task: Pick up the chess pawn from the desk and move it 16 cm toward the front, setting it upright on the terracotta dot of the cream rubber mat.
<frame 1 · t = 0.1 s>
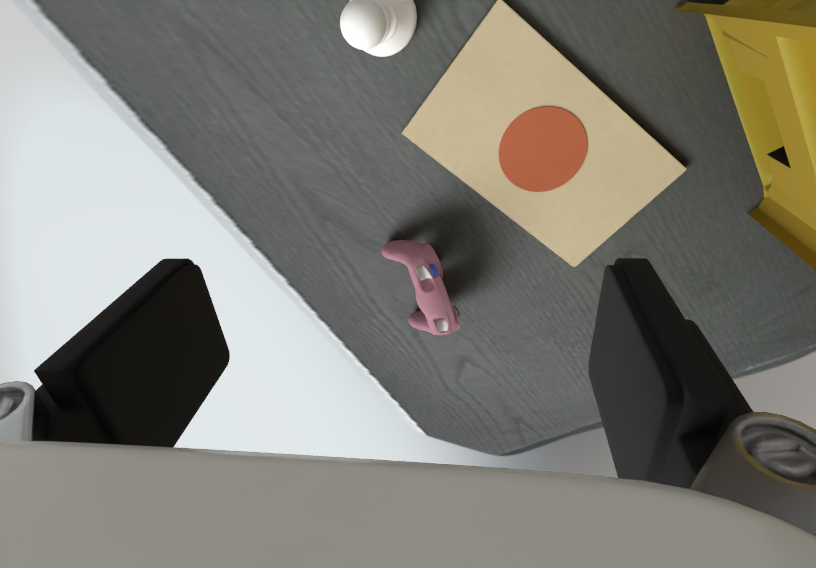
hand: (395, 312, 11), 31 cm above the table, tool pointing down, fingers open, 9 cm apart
video game controller: (425, 274, 47), on the table
chess pawn: (384, 17, 36), on the table
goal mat: (541, 149, 39), on the table
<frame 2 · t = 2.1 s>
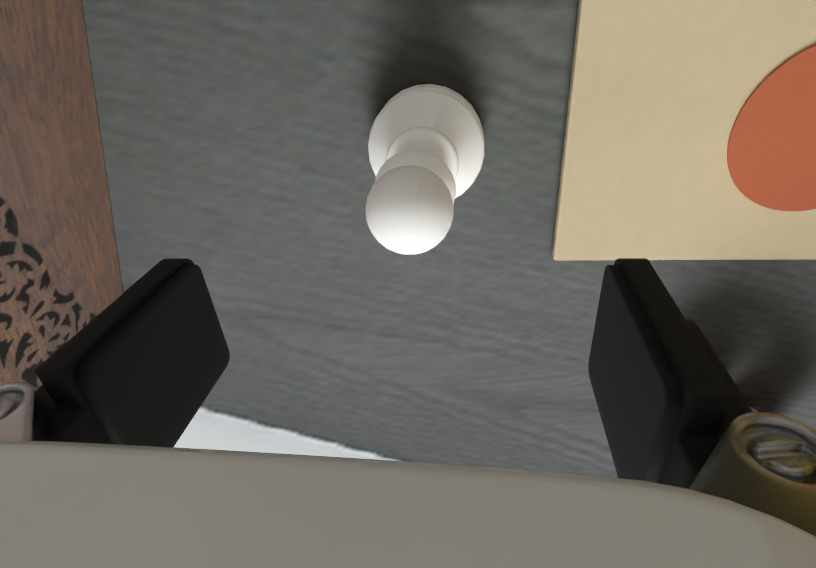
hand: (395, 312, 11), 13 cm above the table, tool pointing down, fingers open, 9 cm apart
chess pawn: (428, 140, 22), on the table
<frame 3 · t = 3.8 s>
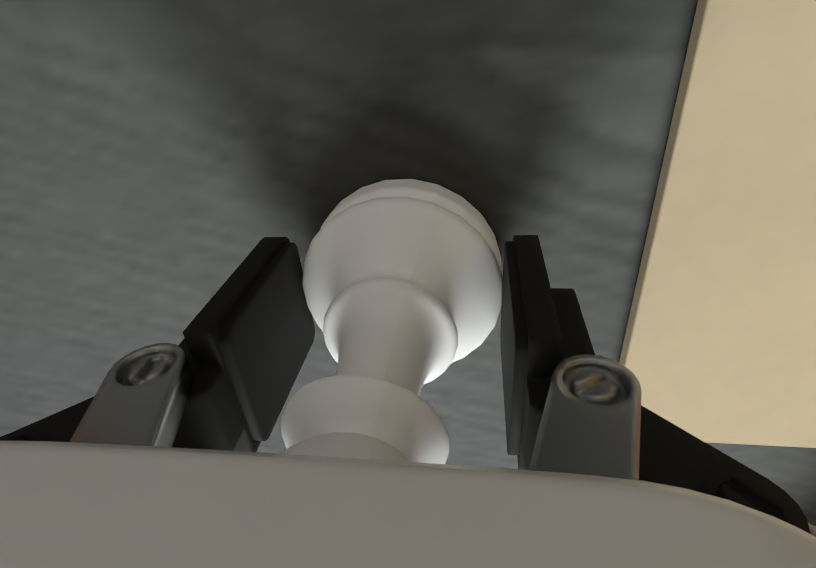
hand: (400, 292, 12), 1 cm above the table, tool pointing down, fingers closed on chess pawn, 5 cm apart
chess pawn: (409, 260, 13), on the table, touching gripper
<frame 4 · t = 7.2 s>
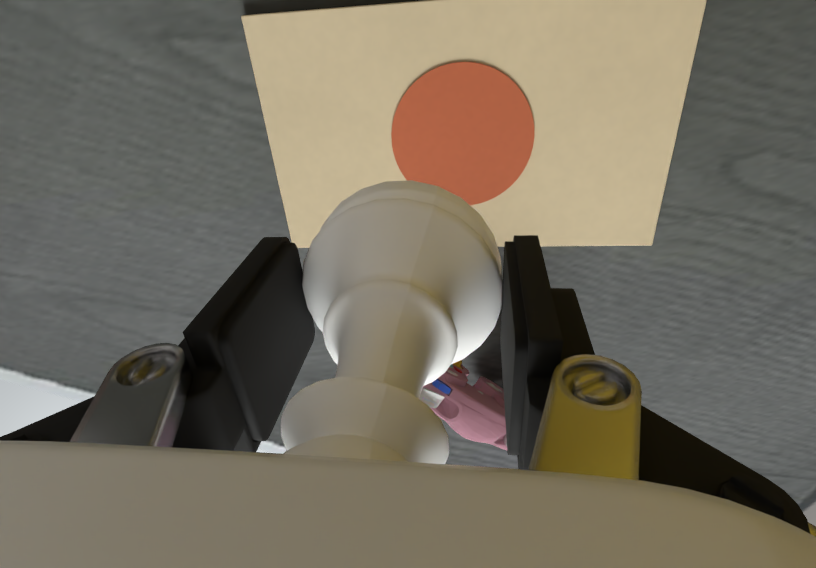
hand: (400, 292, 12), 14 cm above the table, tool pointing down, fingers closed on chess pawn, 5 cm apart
video game controller: (464, 372, 32), on the table
chess pawn: (408, 261, 13), point 13 cm above the table, touching gripper
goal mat: (461, 136, 24), on the table
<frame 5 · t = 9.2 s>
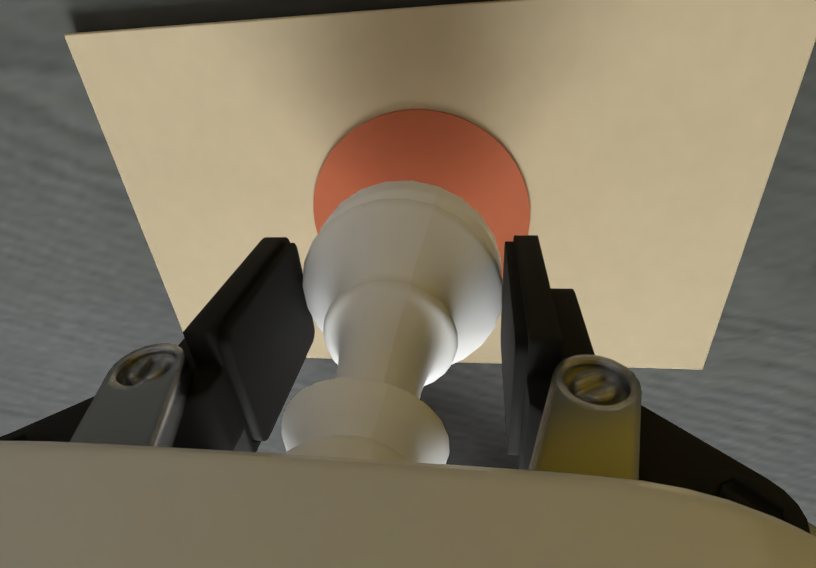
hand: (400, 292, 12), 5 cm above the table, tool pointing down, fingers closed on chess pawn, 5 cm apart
chess pawn: (409, 261, 13), point 3 cm above the table, touching gripper
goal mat: (420, 215, 16), on the table
when the fingers open (2 cm above the table, at t = 10.4 s): chess pawn stays where it is, resting on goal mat.
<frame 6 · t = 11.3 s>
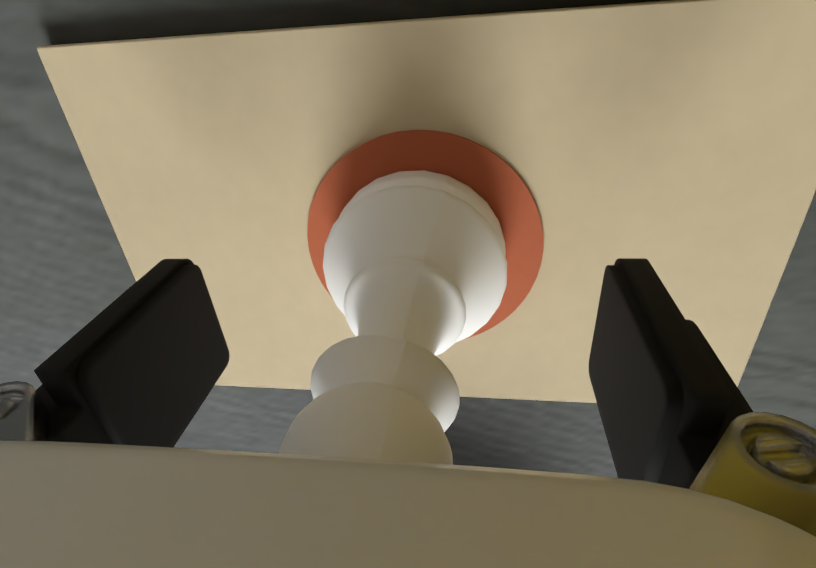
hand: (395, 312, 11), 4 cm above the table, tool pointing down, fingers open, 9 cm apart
chess pawn: (419, 247, 14), resting on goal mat
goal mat: (423, 241, 15), on the table
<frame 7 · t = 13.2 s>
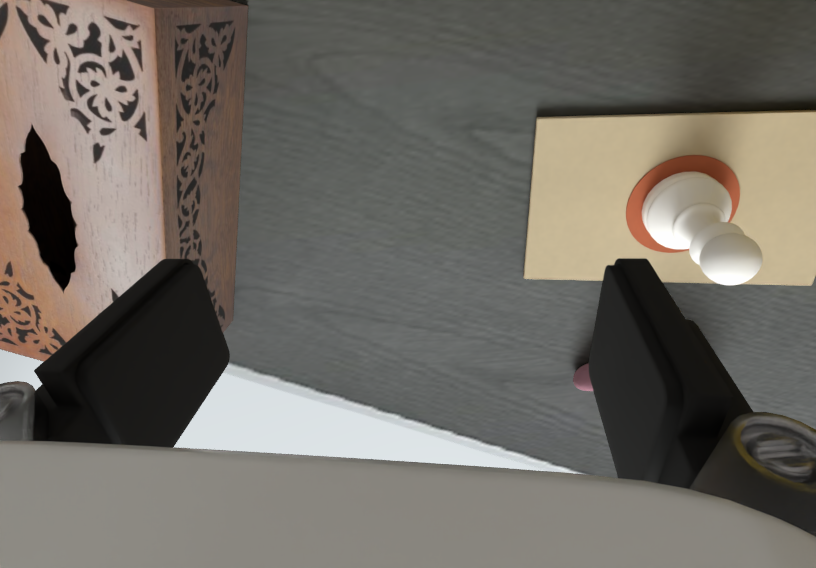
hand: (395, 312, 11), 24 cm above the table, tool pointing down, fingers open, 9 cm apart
tissue box cover: (151, 166, 37), on the table
video game controller: (633, 377, 41), on the table
chess pawn: (679, 205, 32), resting on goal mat
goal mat: (678, 203, 32), on the table
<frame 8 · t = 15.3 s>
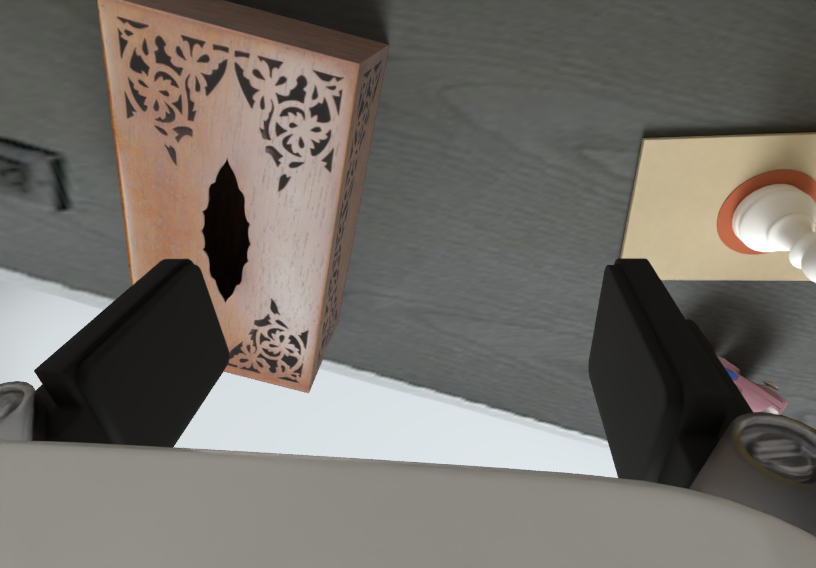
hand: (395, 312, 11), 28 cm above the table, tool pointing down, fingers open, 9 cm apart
tissue box cover: (278, 184, 41), on the table
video game controller: (708, 365, 45), on the table
chess pawn: (765, 213, 36), resting on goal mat
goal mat: (764, 211, 37), on the table
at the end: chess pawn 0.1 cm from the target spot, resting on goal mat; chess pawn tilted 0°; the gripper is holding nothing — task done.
